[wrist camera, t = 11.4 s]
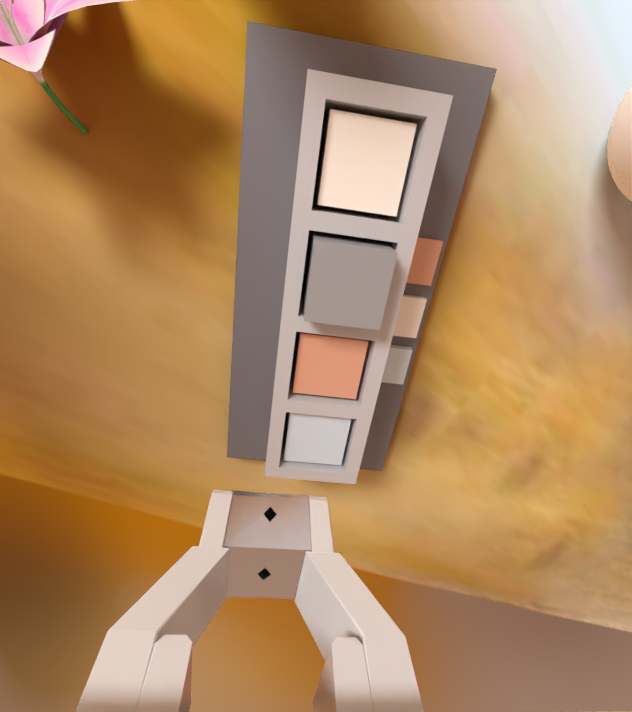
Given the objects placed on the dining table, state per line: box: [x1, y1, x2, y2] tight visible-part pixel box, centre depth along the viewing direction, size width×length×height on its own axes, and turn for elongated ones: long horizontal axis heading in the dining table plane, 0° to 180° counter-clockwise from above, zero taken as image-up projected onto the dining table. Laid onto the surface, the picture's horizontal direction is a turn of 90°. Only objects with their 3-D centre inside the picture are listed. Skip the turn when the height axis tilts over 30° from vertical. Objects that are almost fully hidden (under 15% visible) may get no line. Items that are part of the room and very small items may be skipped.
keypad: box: [227, 21, 497, 484], centre depth 25 cm, size 14×30×6 cm, turn 172°
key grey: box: [304, 231, 398, 330], centre depth 22 cm, size 4×4×4 cm
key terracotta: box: [293, 332, 369, 399], centre depth 26 cm, size 4×4×4 cm
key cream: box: [316, 109, 417, 216], centre depth 21 cm, size 4×4×4 cm
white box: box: [284, 412, 351, 465], centre depth 29 cm, size 4×4×4 cm
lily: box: [0, 0, 131, 134], centre depth 18 cm, size 12×12×10 cm
